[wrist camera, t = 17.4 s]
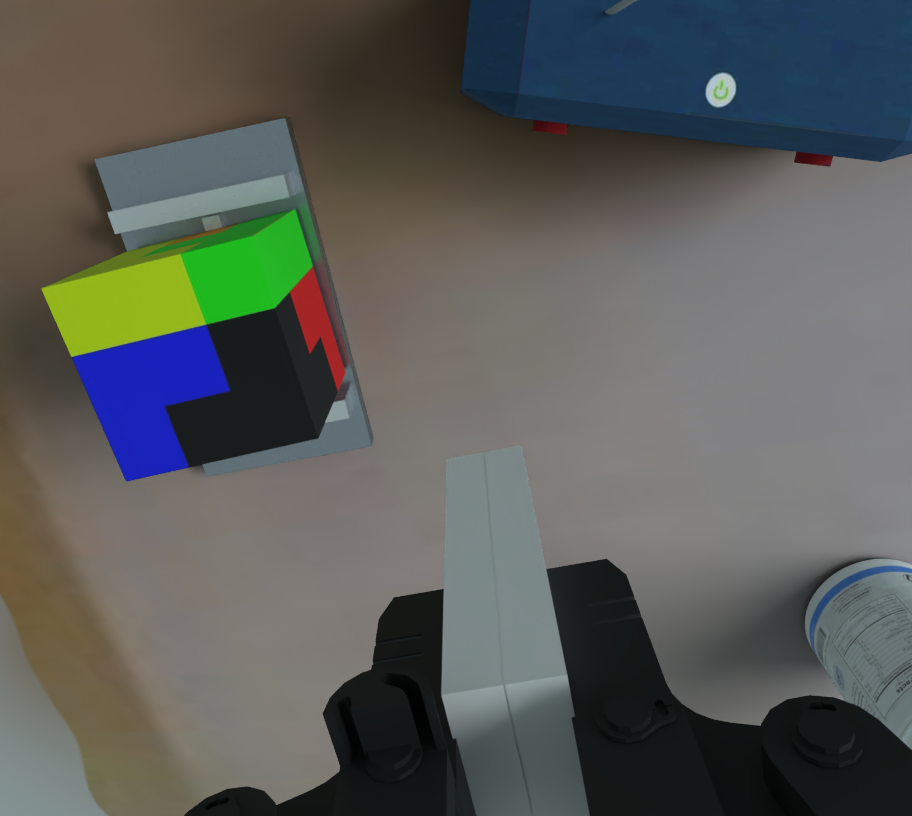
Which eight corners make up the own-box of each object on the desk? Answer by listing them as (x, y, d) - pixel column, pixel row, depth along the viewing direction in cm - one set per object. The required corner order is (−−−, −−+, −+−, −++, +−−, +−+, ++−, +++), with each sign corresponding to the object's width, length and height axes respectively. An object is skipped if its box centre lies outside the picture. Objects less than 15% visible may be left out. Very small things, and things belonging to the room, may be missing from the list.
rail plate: (103, 158, 44) (79, 161, 41) (289, 117, 43) (278, 118, 40) (212, 468, 51) (198, 489, 48) (373, 438, 50) (368, 457, 47)
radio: (457, 119, 43) (459, 127, 25) (476, -59, 40) (494, -205, 21) (819, 163, 44) (1086, 202, 25) (865, -8, 41) (1210, -106, 22)
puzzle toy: (190, 408, 48) (126, 481, 38) (128, 250, 44) (41, 288, 35) (345, 372, 47) (318, 438, 37) (295, 209, 43) (251, 236, 34)
